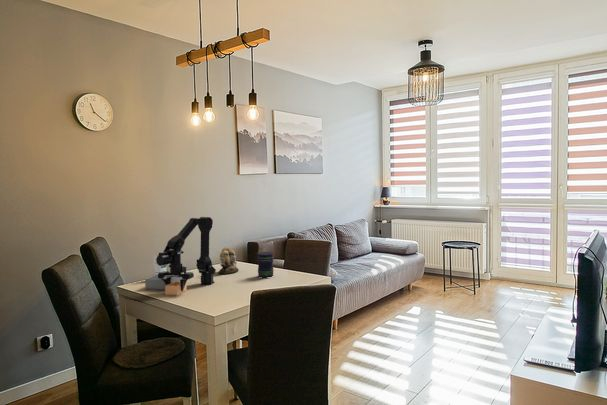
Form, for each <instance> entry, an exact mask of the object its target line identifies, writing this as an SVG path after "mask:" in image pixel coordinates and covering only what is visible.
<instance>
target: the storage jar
mask: <svg viewBox="0 0 607 405" xmlns="http://www.w3.org/2000/svg"><path fill="white" fill-rule="evenodd" d="M257 263H258V264H257V265H258V266H257V278H259V277H262V278H261V279H268V278H267V277H272V276H273V277H274V252H270V251H263V252H262V251H261V252H257ZM273 277H272V278H273Z"/></svg>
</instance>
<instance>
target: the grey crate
mask: <svg viewBox="0 0 607 405" xmlns="http://www.w3.org/2000/svg"><path fill="white" fill-rule="evenodd" d="M181 274H183V273H181ZM181 279H182V277H171V283H172V282H175V281H178V282H180V280H181ZM144 280H145V281H144V284H145V286H144V287H145V290H147V289H149V290H150V291H151V290H152V291H153V290H154V291H165V286H166V284H165V282H164V281H163V280H162V278H158V274H157V275H155V274H153V275H152V276H149V277H147V278H144ZM149 290H148V291H149Z"/></svg>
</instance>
